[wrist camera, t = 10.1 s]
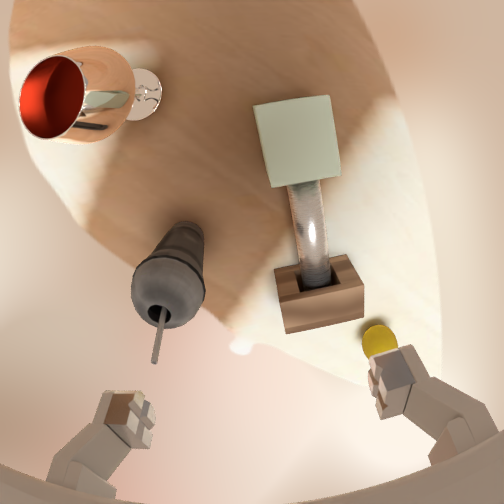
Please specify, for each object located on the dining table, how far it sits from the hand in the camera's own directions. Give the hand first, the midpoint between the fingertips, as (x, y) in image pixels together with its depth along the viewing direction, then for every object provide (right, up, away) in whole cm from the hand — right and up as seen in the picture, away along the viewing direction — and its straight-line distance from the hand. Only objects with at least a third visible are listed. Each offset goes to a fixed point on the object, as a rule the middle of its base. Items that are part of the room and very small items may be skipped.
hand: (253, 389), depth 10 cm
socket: (+8, +1, +32) cm, 33 cm away
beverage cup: (-8, +7, +29) cm, 31 cm away
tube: (+7, +7, +27) cm, 29 cm away
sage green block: (+4, +18, +23) cm, 30 cm away
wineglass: (-13, +23, +21) cm, 34 cm away
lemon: (+20, -8, +38) cm, 43 cm away
